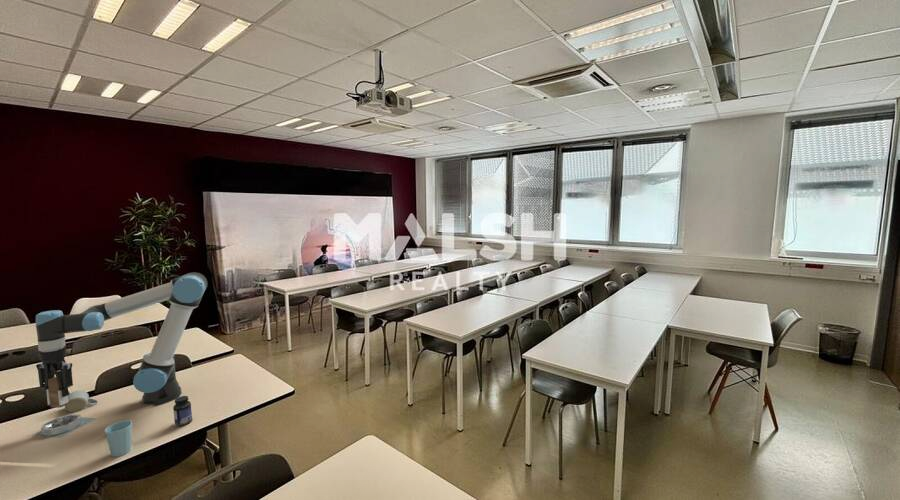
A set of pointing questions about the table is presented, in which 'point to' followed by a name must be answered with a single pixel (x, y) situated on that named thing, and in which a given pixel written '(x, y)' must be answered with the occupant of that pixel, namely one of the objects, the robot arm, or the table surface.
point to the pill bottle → (182, 411)
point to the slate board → (83, 421)
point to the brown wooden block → (54, 393)
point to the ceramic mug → (78, 401)
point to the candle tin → (61, 425)
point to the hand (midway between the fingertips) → (58, 403)
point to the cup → (119, 438)
